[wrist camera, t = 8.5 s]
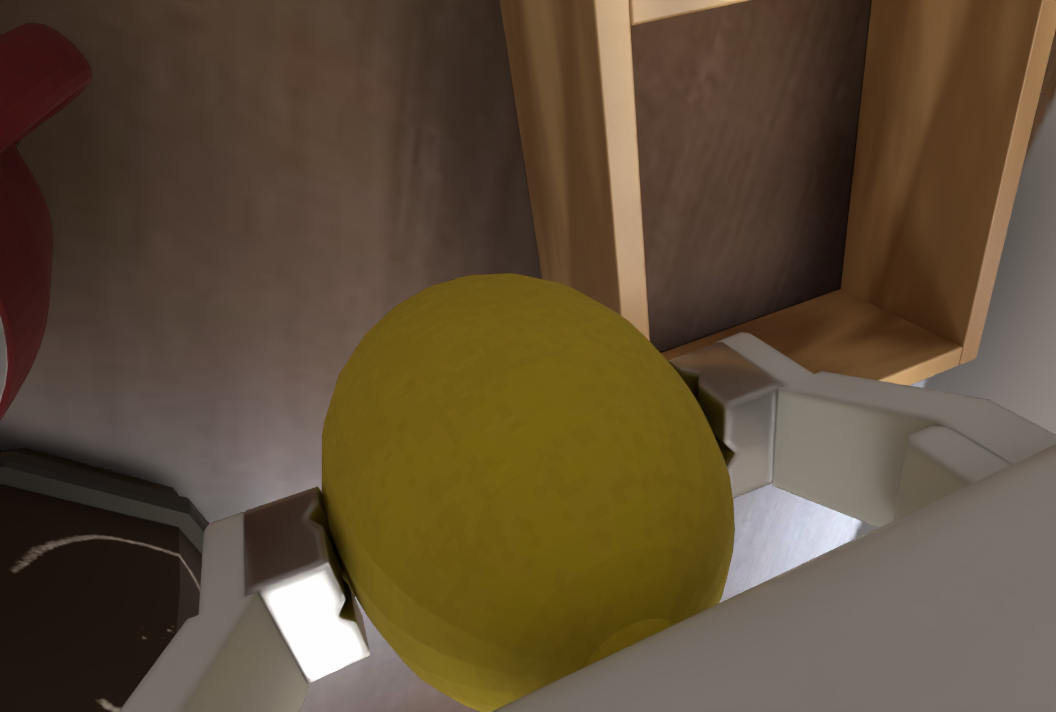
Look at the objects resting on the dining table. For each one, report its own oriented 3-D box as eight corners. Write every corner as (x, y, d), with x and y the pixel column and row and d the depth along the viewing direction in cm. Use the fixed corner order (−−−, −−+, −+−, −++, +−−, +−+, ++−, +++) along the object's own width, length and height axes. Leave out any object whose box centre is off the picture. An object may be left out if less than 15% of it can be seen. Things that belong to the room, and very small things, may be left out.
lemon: (505, 482, 15) (708, 839, 9) (259, 441, 13) (288, 915, 6) (612, 268, 14) (954, 507, 7) (359, 168, 11) (544, 406, 5)
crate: (899, -84, 26) (1089, -109, 20) (853, 299, 35) (976, 358, 29) (498, -8, 22) (592, -12, 16) (560, 406, 31) (636, 499, 25)
